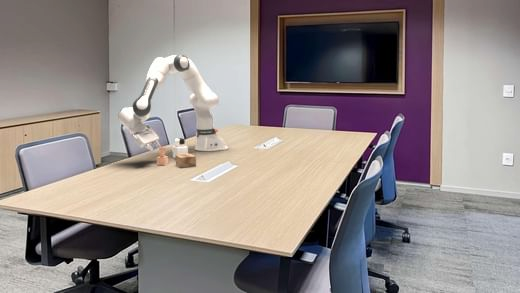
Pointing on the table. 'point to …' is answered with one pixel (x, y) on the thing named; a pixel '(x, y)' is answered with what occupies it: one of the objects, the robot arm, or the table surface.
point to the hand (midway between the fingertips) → (156, 148)
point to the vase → (162, 157)
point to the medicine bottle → (179, 147)
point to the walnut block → (185, 160)
